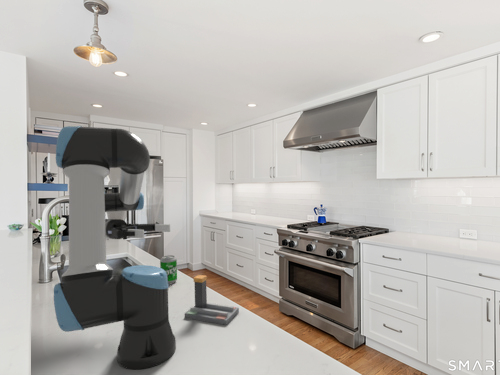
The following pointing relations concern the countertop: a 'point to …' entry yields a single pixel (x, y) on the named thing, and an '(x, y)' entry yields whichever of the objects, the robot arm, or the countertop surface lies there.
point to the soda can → (169, 267)
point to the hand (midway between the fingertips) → (157, 230)
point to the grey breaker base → (213, 313)
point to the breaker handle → (200, 291)
